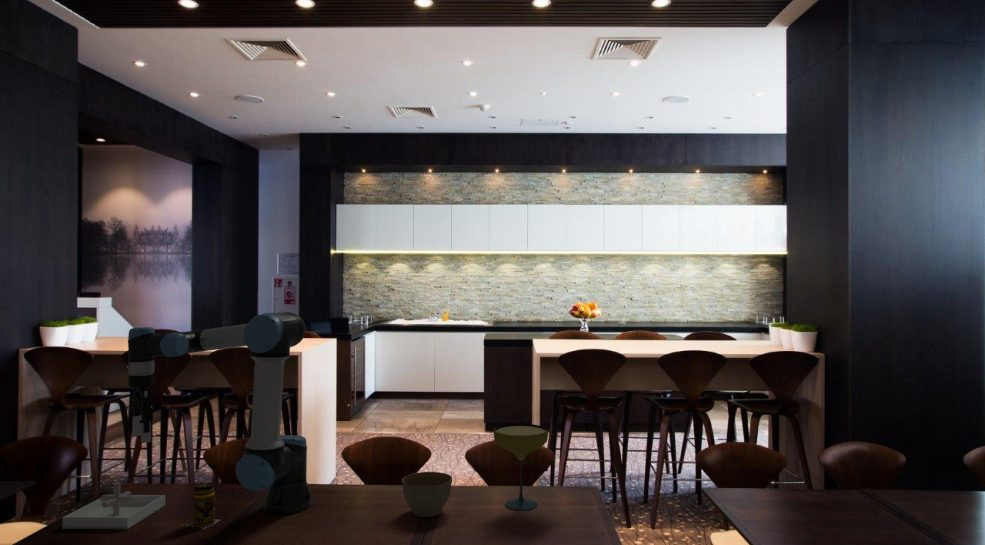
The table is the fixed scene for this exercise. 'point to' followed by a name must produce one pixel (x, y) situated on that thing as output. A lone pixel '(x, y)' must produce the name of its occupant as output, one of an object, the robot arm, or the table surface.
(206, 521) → the condiment
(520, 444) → the cocktail glass
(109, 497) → the pipe connector
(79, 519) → the tray
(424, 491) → the planter bowl
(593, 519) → the table surface
